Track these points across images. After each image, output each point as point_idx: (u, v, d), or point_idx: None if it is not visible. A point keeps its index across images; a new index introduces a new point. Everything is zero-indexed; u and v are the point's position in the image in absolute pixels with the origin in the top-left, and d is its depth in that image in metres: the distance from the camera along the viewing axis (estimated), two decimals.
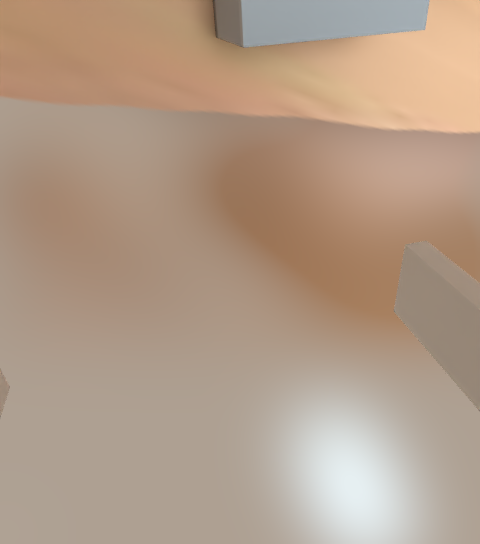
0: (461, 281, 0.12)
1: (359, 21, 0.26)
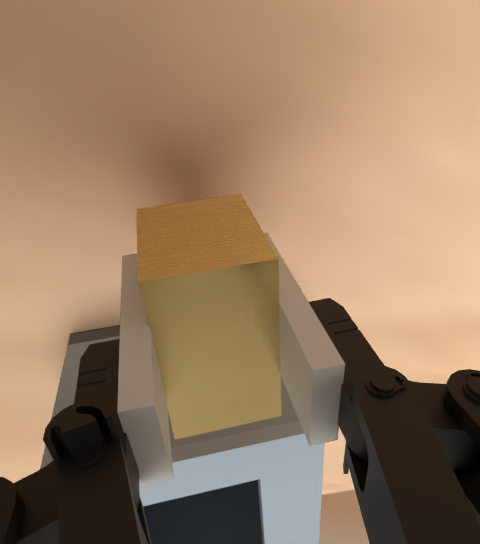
0: None
1: None
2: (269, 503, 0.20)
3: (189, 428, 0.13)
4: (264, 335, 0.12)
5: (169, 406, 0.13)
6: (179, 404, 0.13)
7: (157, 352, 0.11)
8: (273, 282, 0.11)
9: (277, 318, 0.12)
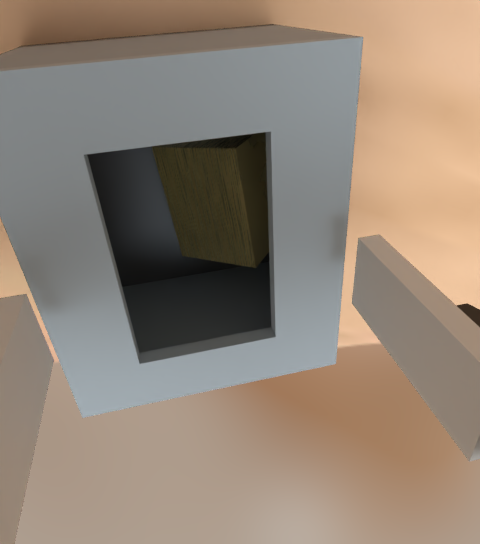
0: (405, 272, 0.12)
1: (243, 371, 0.20)
2: (282, 191, 0.15)
3: (259, 256, 0.21)
4: None
5: (251, 240, 0.20)
6: (254, 237, 0.20)
7: (245, 198, 0.19)
8: None
9: None
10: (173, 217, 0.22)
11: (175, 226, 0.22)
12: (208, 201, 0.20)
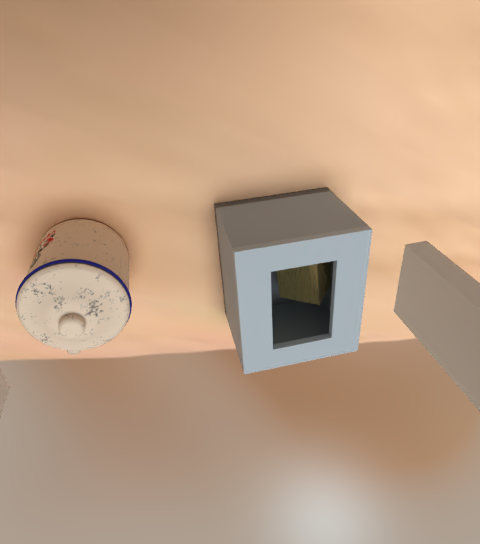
0: (461, 281, 0.12)
1: (315, 353, 0.43)
2: (339, 279, 0.38)
3: (321, 299, 0.44)
4: None
5: (318, 292, 0.43)
6: (320, 291, 0.43)
7: (317, 275, 0.42)
8: None
9: None
10: (278, 279, 0.45)
11: (278, 283, 0.45)
12: (299, 275, 0.43)
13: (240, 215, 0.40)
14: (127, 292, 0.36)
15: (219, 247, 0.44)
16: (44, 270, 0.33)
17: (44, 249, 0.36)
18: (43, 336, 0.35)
